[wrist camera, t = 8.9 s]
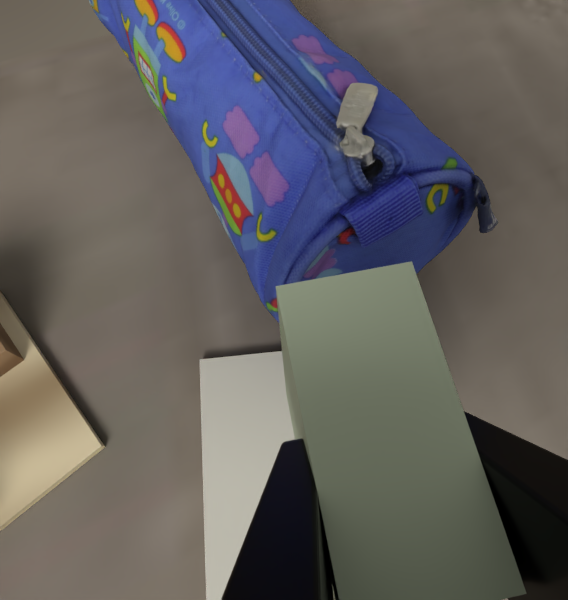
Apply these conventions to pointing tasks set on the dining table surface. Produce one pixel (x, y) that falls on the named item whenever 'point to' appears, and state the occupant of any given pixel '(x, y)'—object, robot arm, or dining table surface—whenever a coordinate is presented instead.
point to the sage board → (389, 443)
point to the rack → (35, 422)
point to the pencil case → (295, 140)
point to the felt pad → (238, 450)
